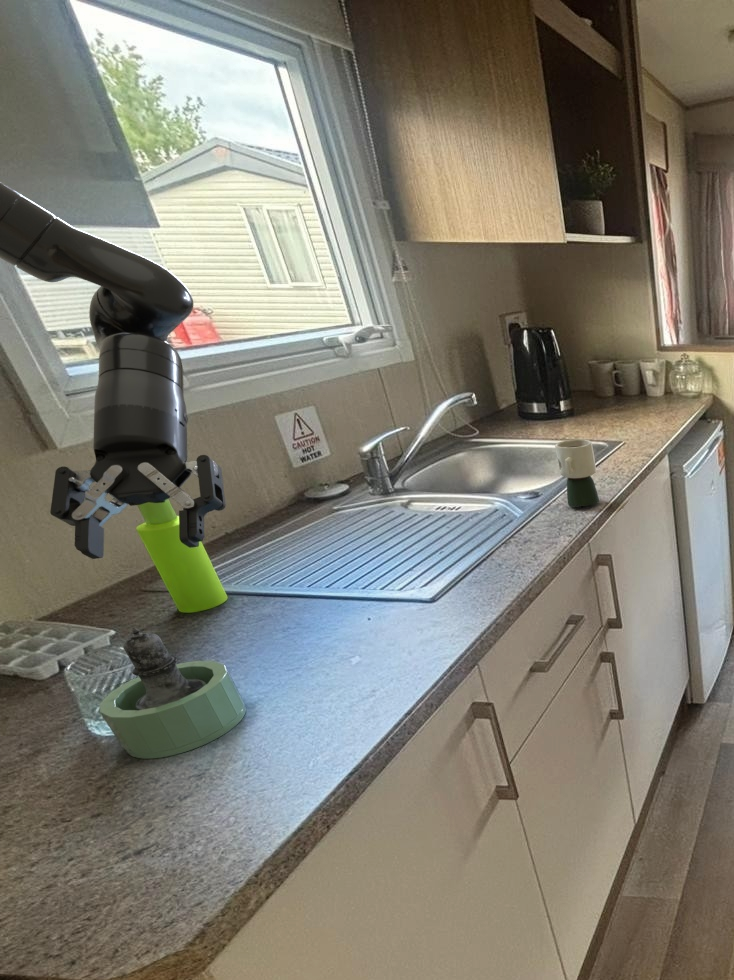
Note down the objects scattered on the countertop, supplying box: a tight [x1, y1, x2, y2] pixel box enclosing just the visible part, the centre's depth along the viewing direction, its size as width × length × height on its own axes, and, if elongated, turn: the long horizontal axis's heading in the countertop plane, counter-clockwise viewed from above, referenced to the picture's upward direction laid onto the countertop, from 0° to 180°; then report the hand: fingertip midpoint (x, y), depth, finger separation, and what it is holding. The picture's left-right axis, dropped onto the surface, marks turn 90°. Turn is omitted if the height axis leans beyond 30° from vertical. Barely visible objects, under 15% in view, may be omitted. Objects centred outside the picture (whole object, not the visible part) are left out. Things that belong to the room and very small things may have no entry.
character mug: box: [554, 438, 600, 509], centre depth 134 cm, size 11×7×13 cm, turn 0°
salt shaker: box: [122, 627, 206, 710], centre depth 70 cm, size 6×6×12 cm
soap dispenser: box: [135, 498, 228, 614], centre depth 95 cm, size 6×7×20 cm
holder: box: [99, 660, 247, 760], centre depth 72 cm, size 10×10×6 cm
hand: (141, 550), depth 71 cm, fingers open, 8 cm apart
